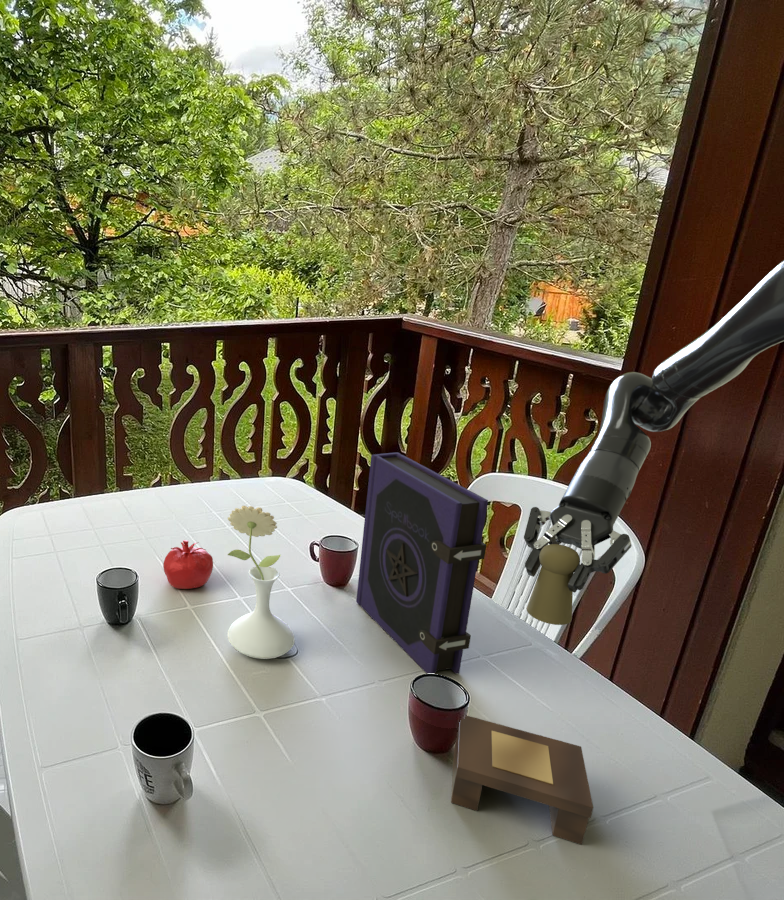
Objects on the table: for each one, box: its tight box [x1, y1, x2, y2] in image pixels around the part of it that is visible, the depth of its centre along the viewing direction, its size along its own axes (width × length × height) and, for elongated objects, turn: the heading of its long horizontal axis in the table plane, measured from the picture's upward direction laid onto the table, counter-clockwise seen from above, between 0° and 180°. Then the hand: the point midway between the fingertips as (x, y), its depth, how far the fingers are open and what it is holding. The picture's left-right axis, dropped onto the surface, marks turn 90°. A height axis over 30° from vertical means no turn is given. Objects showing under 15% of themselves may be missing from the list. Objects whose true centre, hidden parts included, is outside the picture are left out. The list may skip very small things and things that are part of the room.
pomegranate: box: [162, 539, 214, 590], centre depth 127 cm, size 10×10×9 cm
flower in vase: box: [226, 505, 296, 660], centre depth 105 cm, size 13×11×25 cm
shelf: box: [450, 714, 594, 846], centre depth 78 cm, size 14×10×6 cm
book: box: [355, 452, 489, 675], centre depth 107 cm, size 24×6×30 cm, turn 15°
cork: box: [526, 544, 581, 626], centre depth 95 cm, size 6×6×11 cm
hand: (550, 581), depth 93 cm, fingers closed on cork, 5 cm apart
